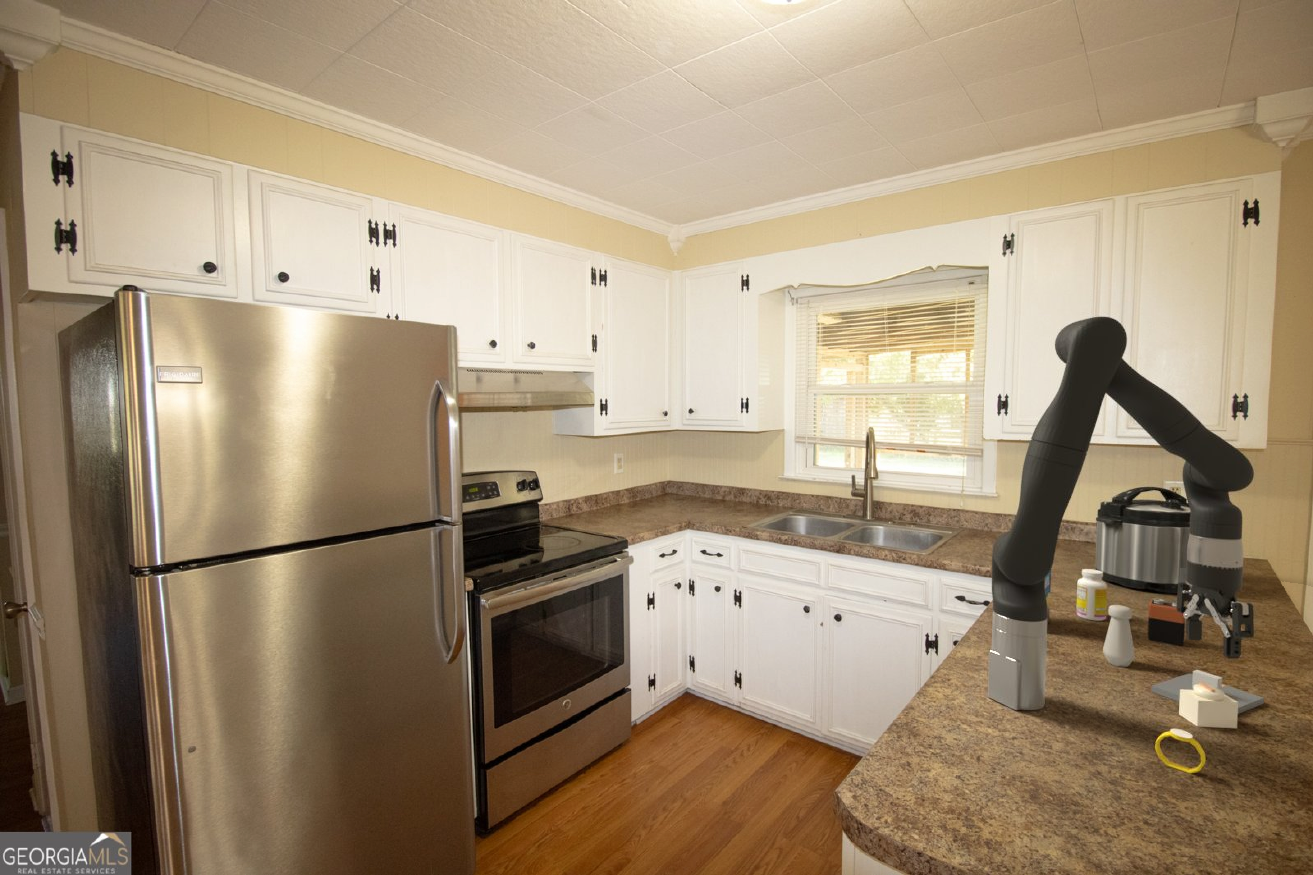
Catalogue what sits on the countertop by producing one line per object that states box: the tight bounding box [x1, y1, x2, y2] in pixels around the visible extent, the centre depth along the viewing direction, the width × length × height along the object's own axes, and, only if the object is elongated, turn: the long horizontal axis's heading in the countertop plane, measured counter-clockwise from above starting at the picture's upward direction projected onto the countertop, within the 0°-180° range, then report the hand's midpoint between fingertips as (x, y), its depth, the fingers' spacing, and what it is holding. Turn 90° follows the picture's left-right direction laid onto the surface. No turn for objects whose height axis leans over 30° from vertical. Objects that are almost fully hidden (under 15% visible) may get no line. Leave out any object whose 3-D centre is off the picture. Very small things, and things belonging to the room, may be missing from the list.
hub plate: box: [1150, 669, 1265, 715], centre depth 121 cm, size 14×12×5 cm
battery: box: [1147, 597, 1186, 647], centre depth 150 cm, size 4×7×10 cm, turn 48°
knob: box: [1178, 682, 1239, 729], centre depth 112 cm, size 4×7×6 cm
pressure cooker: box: [1094, 486, 1191, 594], centre depth 199 cm, size 30×28×32 cm
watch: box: [1154, 728, 1206, 775], centre depth 98 cm, size 6×3×6 cm, turn 41°
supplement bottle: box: [1076, 568, 1108, 622], centre depth 167 cm, size 7×7×13 cm
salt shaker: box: [1102, 604, 1136, 668], centre depth 137 cm, size 6×6×13 cm
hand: (1211, 648), depth 111 cm, fingers open, 8 cm apart
